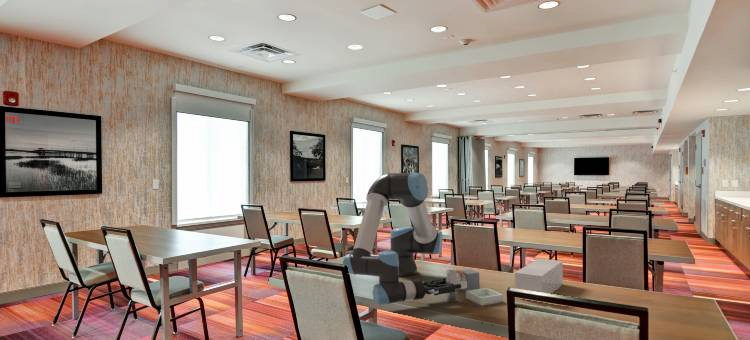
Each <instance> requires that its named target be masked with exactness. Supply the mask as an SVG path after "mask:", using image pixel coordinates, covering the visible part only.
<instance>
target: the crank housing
mask: <svg viewBox="0 0 750 340" xmlns="http://www.w3.org/2000/svg"><path fill="white" fill-rule="evenodd" d="M456 271H457V279H458V278H460V282H462V281H467V288H464V289H460V290H461V291H463V292H465V293H466V291H470V290H477V289H481V288H480V272H479V271H476V270H474V269H470V268H469V269H461V270H460V269H456Z"/></svg>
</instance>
